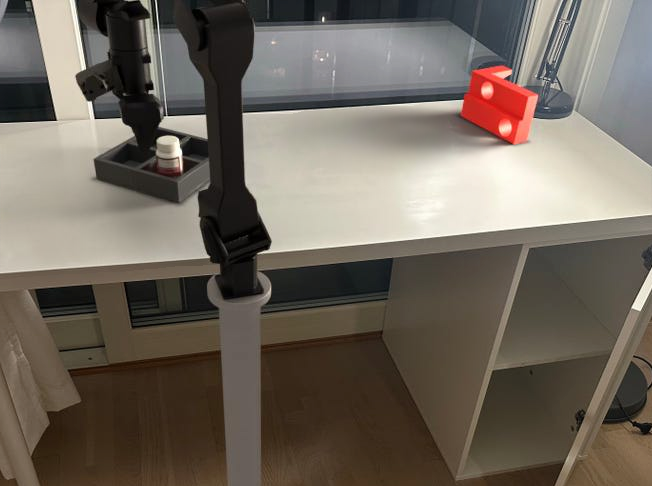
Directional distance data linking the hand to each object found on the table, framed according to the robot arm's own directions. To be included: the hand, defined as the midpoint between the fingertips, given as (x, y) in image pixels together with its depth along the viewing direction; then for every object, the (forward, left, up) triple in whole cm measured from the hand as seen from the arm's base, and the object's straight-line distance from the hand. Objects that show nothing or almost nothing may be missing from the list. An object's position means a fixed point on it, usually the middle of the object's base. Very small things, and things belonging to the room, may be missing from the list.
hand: (140, 143), depth 117 cm
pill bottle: (+9, -6, -12) cm, 17 cm away
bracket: (+21, -85, -13) cm, 89 cm away
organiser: (+16, -6, -13) cm, 21 cm away
